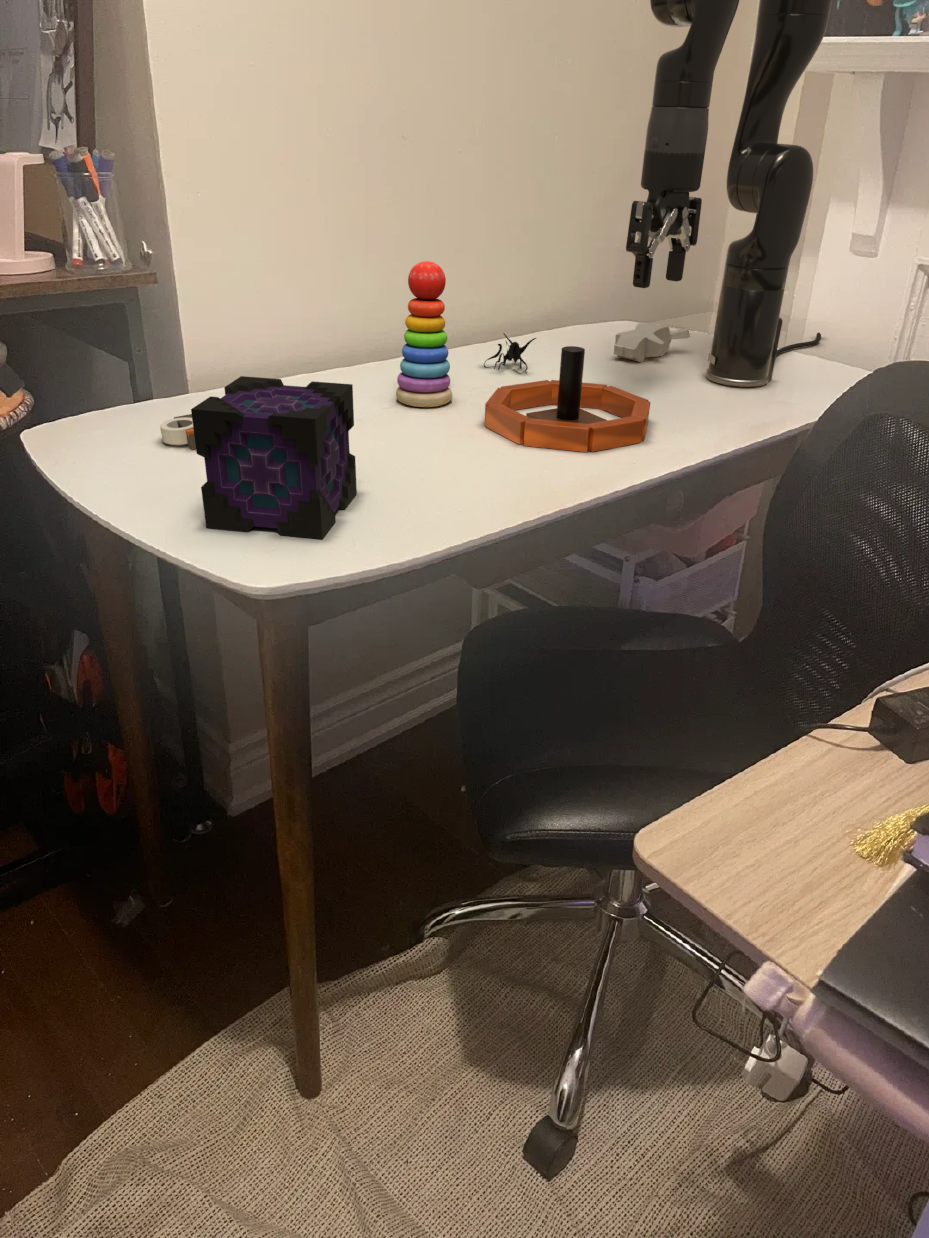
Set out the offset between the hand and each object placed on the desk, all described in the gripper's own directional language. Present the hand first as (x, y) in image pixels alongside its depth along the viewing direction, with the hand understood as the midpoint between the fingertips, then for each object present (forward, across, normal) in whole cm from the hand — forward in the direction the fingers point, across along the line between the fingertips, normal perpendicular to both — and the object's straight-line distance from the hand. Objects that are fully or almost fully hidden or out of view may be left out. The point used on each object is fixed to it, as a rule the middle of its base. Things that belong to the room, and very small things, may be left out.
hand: (657, 284), depth 122 cm
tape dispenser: (+17, -50, +30) cm, 61 cm away
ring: (+17, -15, +2) cm, 23 cm away
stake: (+17, -15, +2) cm, 23 cm away
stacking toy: (+17, -21, +23) cm, 36 cm away
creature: (+17, +2, +26) cm, 31 cm away
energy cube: (+17, -60, +6) cm, 63 cm away
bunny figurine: (+17, +27, +15) cm, 35 cm away
